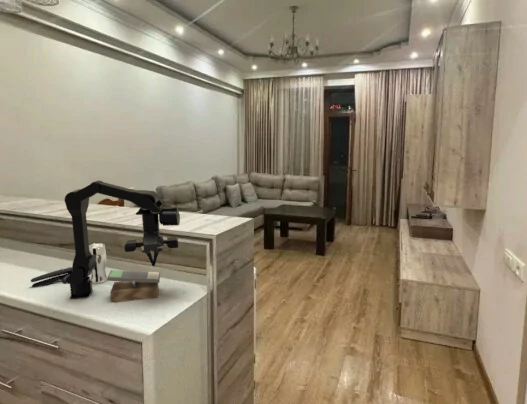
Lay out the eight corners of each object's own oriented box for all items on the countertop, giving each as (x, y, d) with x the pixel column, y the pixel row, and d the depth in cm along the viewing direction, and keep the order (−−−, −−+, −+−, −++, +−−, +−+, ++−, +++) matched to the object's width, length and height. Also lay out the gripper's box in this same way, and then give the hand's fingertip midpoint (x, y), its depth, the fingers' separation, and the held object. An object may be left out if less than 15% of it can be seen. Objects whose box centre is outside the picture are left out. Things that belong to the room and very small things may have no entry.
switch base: (111, 302, 128) (109, 288, 127) (115, 291, 136) (113, 278, 135) (157, 297, 132) (156, 283, 130) (158, 287, 140) (157, 273, 139)
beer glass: (101, 284, 142) (97, 249, 139) (86, 283, 144) (82, 248, 141) (112, 277, 149) (108, 243, 146) (97, 276, 150) (93, 242, 147)
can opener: (81, 275, 152) (79, 263, 151) (82, 281, 146) (80, 268, 145) (32, 284, 143) (30, 271, 142) (30, 290, 138) (28, 277, 136)
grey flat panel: (107, 282, 127) (107, 277, 127) (110, 275, 134) (110, 269, 133) (159, 284, 132) (159, 279, 131) (159, 277, 138) (160, 271, 138)
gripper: (120, 233, 120) (124, 276, 124) (177, 229, 125) (179, 271, 128) (125, 225, 131) (128, 265, 134) (177, 222, 135) (179, 260, 139)
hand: (153, 265), depth 133 cm, fingers closed
